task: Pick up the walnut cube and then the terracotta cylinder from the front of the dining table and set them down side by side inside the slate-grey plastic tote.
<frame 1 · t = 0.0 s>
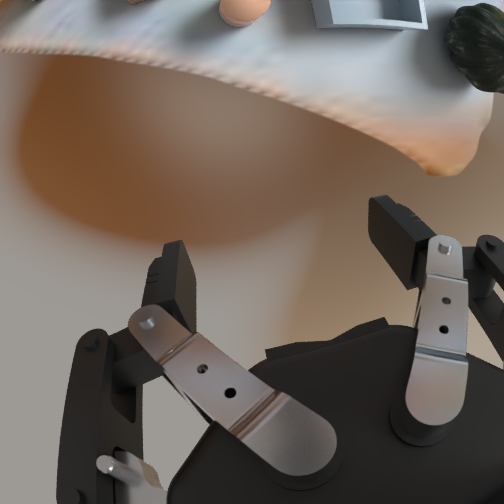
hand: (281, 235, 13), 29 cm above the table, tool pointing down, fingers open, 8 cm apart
squash: (464, 45, 32), on the table
terracotta cylinder: (239, 9, 29), on the table
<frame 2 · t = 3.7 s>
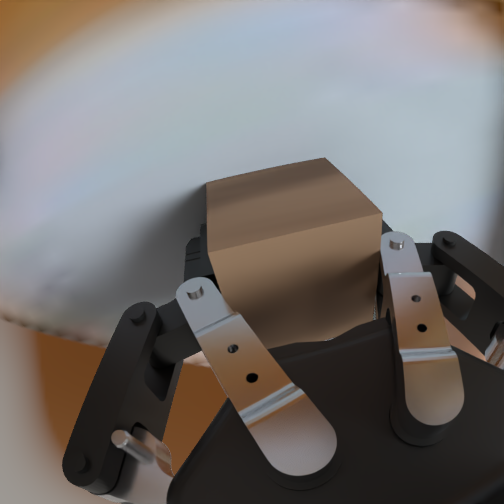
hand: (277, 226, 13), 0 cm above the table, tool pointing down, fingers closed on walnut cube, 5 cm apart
terracotta cylinder: (434, 280, 18), on the table
walnut cube: (275, 220, 14), on the table, touching gripper
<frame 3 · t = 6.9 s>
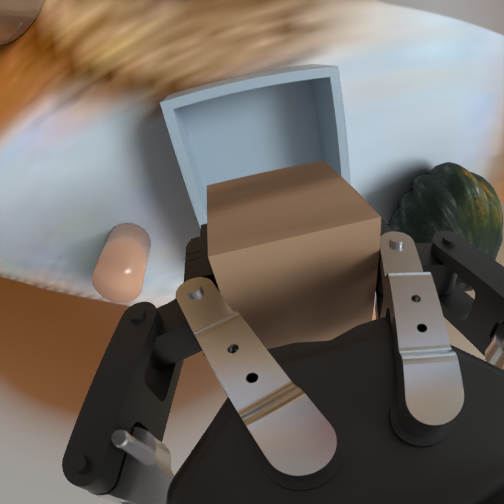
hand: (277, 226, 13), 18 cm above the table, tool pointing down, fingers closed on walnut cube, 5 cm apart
squash: (423, 205, 36), on the table
tote: (261, 161, 30), on the table
terracotta cylinder: (129, 242, 33), on the table
walnut cube: (275, 223, 14), point 17 cm above the table, touching gripper
when the fingers open (4 cm above the table, at t = 10.1 s): walnut cube drops 3 cm, resting on tote.
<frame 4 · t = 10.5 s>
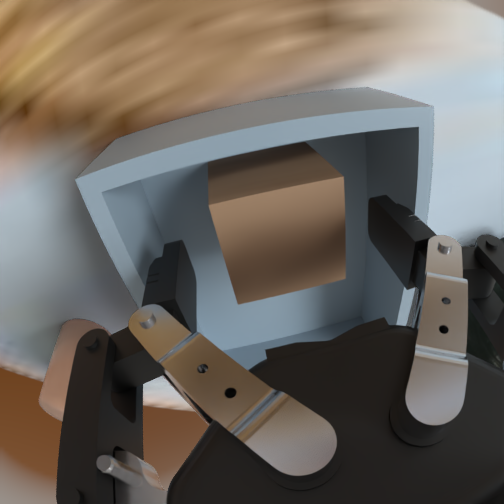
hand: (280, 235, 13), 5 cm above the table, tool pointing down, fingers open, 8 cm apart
squash: (473, 280, 25), on the table
tote: (272, 246, 19), on the table
terracotta cylinder: (87, 339, 22), on the table
walnut cube: (265, 194, 16), point 1 cm above the table, touching tote
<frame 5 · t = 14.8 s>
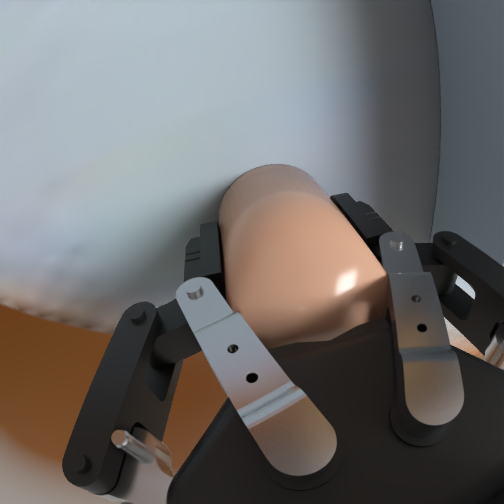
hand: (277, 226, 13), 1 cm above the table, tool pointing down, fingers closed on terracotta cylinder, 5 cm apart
terracotta cylinder: (273, 216, 14), on the table, touching gripper
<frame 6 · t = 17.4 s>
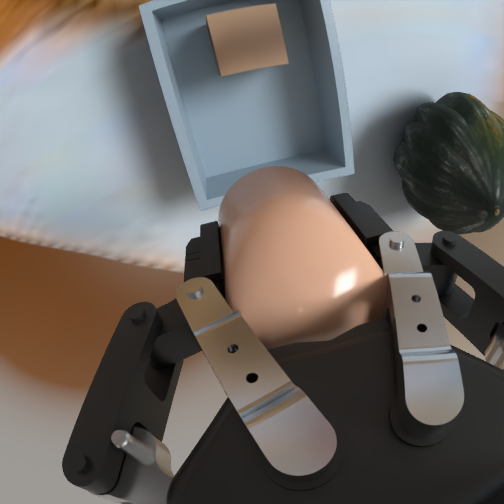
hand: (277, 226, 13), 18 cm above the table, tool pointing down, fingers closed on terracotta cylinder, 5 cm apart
squash: (429, 146, 31), on the table
tote: (248, 82, 25), on the table
terracotta cylinder: (273, 217, 14), point 17 cm above the table, touching gripper
walnut cube: (240, 42, 22), point 1 cm above the table, touching tote
when the fingers open (5 cm above the table, at t = 20.4 s): terracotta cylinder drops 3 cm, resting on tote.
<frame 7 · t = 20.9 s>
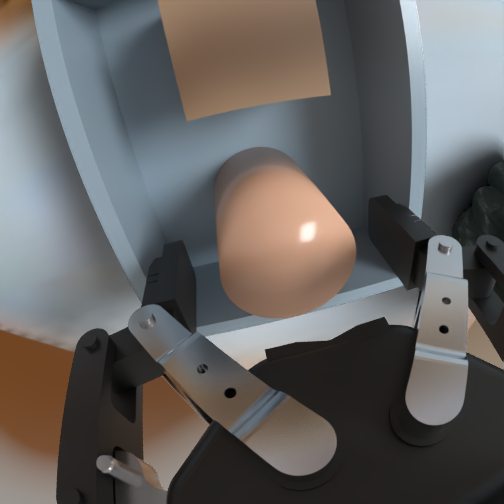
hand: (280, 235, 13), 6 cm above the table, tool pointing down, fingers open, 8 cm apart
squash: (489, 209, 21), on the table
tote: (246, 116, 15), on the table
terracotta cylinder: (259, 190, 17), point 1 cm above the table, touching tote
walnut cube: (234, 45, 12), point 1 cm above the table, touching tote
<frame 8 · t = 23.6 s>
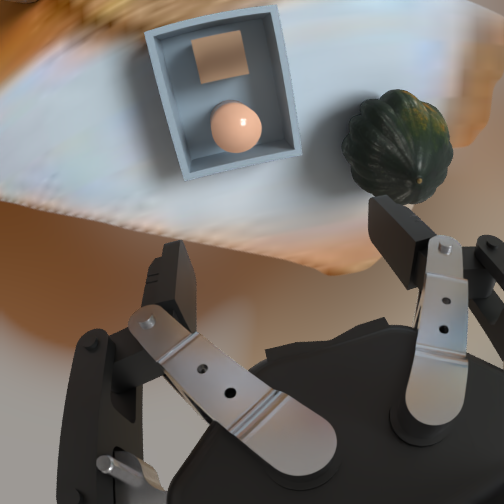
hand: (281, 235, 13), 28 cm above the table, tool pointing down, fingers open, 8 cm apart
squash: (378, 136, 39), on the table
tote: (224, 87, 33), on the table
terracotta cylinder: (230, 119, 35), point 1 cm above the table, touching tote
walnut cube: (218, 57, 30), point 1 cm above the table, touching tote
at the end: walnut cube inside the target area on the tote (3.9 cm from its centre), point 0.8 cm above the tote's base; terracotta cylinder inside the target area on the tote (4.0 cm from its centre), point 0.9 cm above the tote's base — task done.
